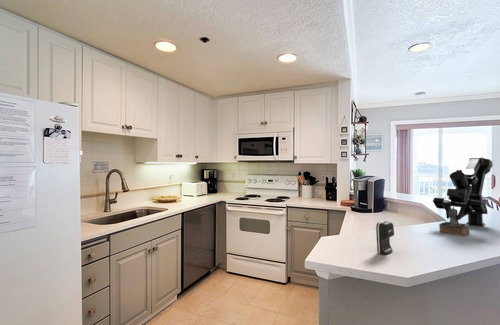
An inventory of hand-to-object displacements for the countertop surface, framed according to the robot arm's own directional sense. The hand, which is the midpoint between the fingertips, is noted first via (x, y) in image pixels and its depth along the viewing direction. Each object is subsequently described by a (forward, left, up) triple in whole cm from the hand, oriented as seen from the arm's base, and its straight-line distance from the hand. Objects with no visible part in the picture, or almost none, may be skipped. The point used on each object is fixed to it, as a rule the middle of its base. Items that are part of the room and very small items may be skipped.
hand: (452, 218), depth 114 cm
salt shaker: (-2, 0, -7) cm, 7 cm away
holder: (-1, 0, -7) cm, 7 cm away
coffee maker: (+49, -9, -7) cm, 50 cm away
